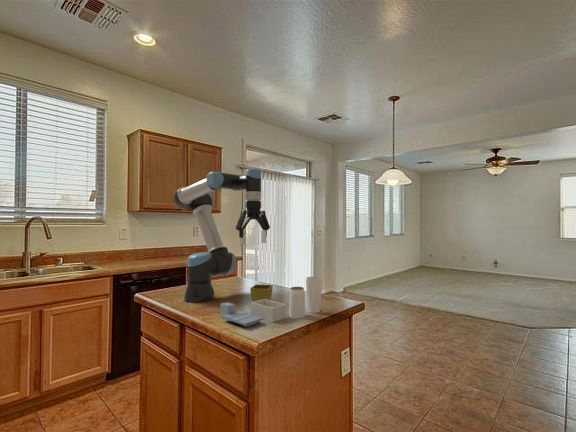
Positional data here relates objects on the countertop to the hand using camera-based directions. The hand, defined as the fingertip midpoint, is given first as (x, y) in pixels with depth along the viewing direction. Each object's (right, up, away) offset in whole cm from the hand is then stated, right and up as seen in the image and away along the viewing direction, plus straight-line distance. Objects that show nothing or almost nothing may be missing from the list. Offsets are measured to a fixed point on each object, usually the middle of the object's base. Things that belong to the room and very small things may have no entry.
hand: (253, 243), depth 154 cm
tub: (+9, -28, -25) cm, 39 cm away
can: (+21, -29, -24) cm, 42 cm away
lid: (-3, -28, -31) cm, 42 cm away
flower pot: (+5, -29, -6) cm, 30 cm away
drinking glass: (+28, -29, -17) cm, 44 cm away
